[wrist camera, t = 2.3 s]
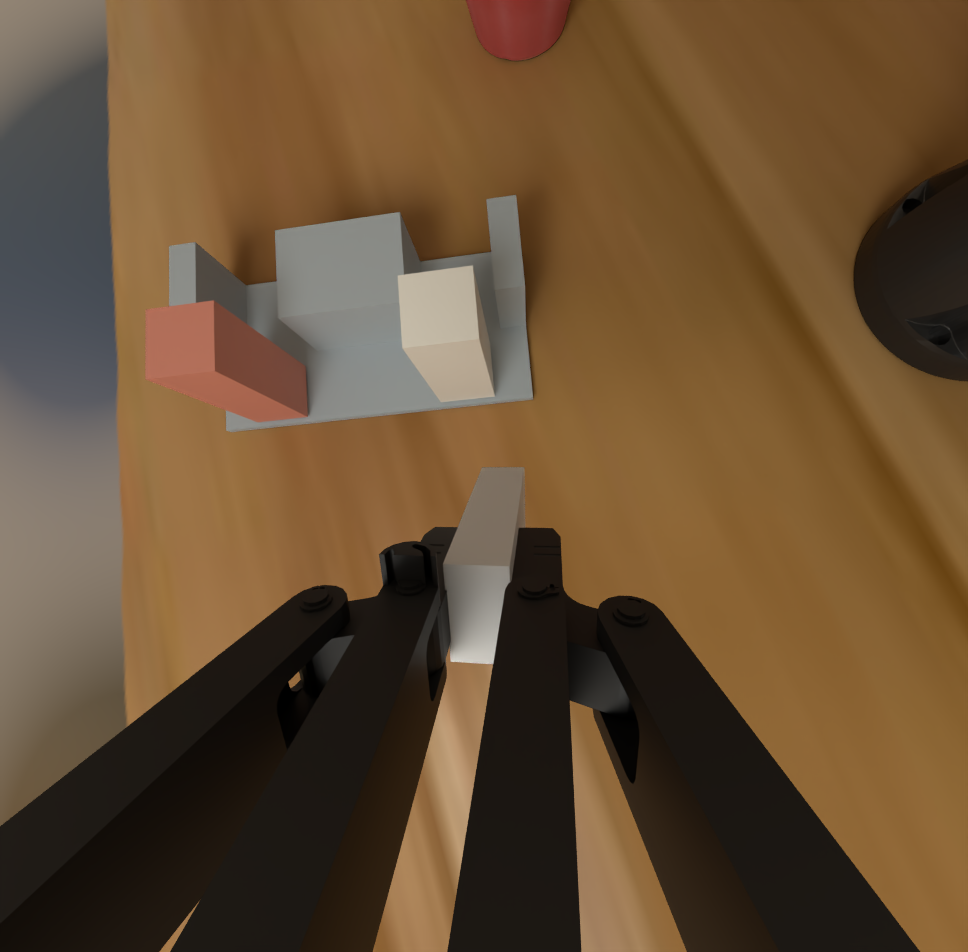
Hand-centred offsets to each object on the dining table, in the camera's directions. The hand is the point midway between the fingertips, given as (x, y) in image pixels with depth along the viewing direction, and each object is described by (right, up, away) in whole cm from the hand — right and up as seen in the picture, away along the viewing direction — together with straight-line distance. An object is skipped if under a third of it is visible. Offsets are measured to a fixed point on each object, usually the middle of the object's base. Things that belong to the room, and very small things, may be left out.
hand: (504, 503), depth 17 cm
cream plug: (-2, +9, +20) cm, 22 cm away
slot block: (-10, +12, +21) cm, 26 cm away
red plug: (-17, +7, +22) cm, 28 cm away
